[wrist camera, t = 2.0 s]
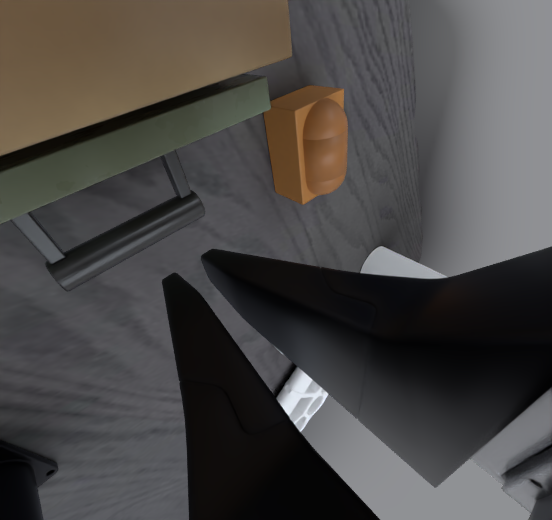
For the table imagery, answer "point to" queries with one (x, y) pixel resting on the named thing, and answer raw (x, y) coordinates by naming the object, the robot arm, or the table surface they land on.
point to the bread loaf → (307, 142)
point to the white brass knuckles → (301, 398)
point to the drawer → (114, 160)
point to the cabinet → (122, 57)
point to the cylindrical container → (396, 265)
